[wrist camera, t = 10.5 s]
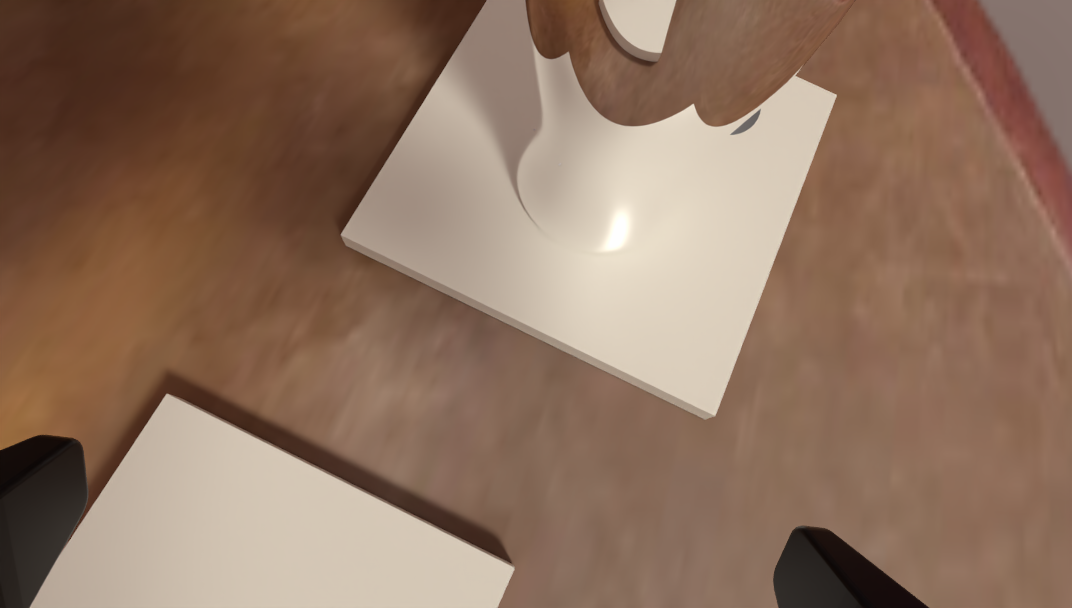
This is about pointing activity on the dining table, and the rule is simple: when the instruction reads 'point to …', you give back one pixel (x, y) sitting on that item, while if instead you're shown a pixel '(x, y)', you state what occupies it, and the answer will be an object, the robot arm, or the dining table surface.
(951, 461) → the dining table surface
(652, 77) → the beer glass
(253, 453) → the one-dot tile
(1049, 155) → the dining table surface
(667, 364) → the two-dot tile
